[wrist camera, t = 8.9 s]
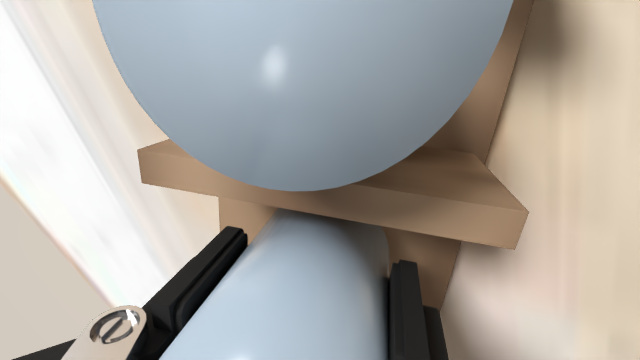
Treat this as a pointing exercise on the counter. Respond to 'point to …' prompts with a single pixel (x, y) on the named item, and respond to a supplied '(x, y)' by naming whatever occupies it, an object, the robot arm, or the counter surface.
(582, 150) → the counter surface
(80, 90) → the counter surface
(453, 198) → the rack
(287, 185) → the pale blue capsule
